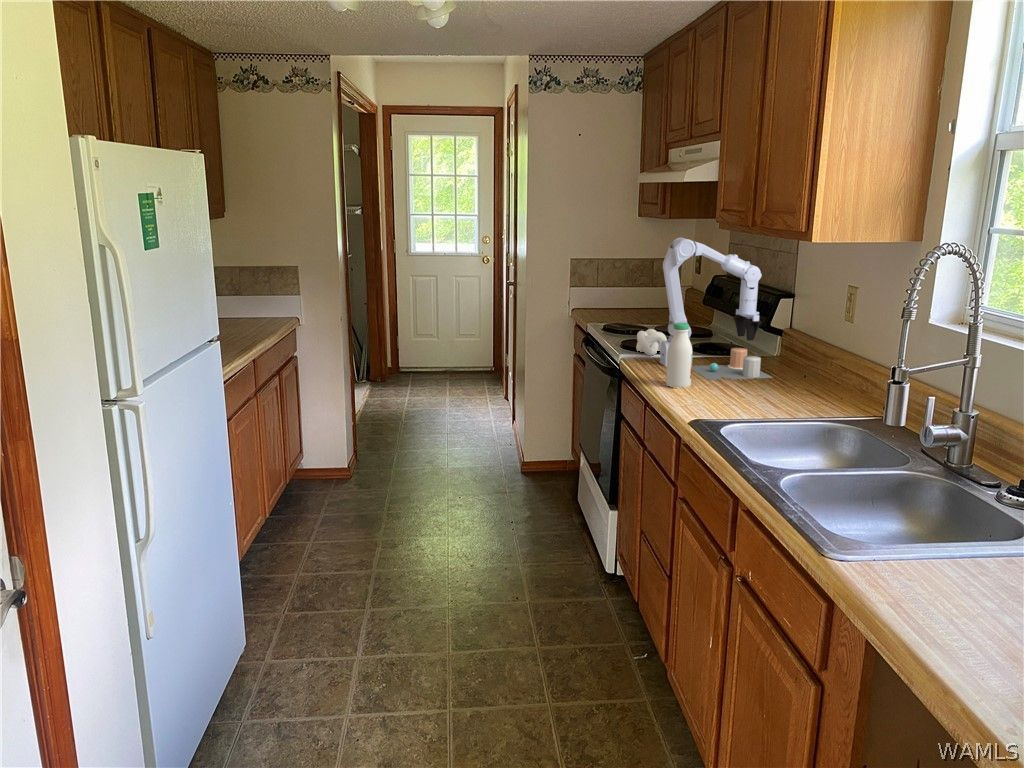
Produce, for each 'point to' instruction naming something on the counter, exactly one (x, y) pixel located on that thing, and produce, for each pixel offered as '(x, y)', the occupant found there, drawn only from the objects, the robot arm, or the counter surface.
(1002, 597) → the counter surface
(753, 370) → the white domed cylinder
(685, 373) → the milk bottle
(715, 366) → the teal marble
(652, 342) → the white puffy twist
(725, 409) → the counter surface
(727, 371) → the slate mat
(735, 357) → the peach domed cylinder
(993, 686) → the counter surface
